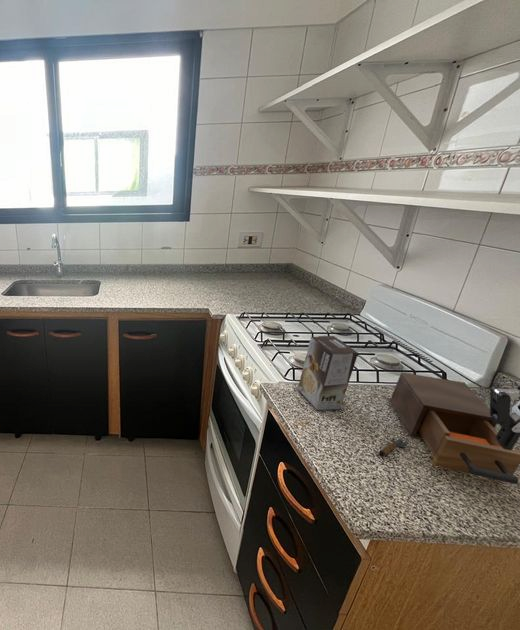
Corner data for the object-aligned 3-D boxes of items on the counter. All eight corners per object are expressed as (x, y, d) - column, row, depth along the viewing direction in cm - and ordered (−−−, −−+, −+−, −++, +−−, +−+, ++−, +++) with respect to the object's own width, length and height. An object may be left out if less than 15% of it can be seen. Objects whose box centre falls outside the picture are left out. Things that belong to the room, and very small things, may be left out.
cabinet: (481, 451, 73) (499, 419, 69) (410, 436, 77) (424, 404, 73) (450, 411, 84) (464, 382, 81) (389, 400, 88) (401, 372, 85)
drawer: (525, 505, 60) (545, 476, 58) (445, 485, 64) (460, 458, 61) (471, 437, 75) (485, 412, 72) (409, 425, 79) (420, 401, 76)
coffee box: (341, 409, 85) (360, 353, 79) (316, 410, 85) (333, 354, 79) (318, 387, 94) (334, 335, 87) (295, 388, 94) (309, 335, 87)
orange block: (478, 451, 70) (485, 439, 69) (487, 464, 67) (495, 451, 66) (434, 442, 72) (440, 430, 71) (442, 454, 69) (448, 441, 68)
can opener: (383, 457, 71) (385, 453, 71) (371, 449, 73) (373, 445, 73) (410, 445, 74) (412, 441, 74) (398, 438, 76) (400, 434, 76)
